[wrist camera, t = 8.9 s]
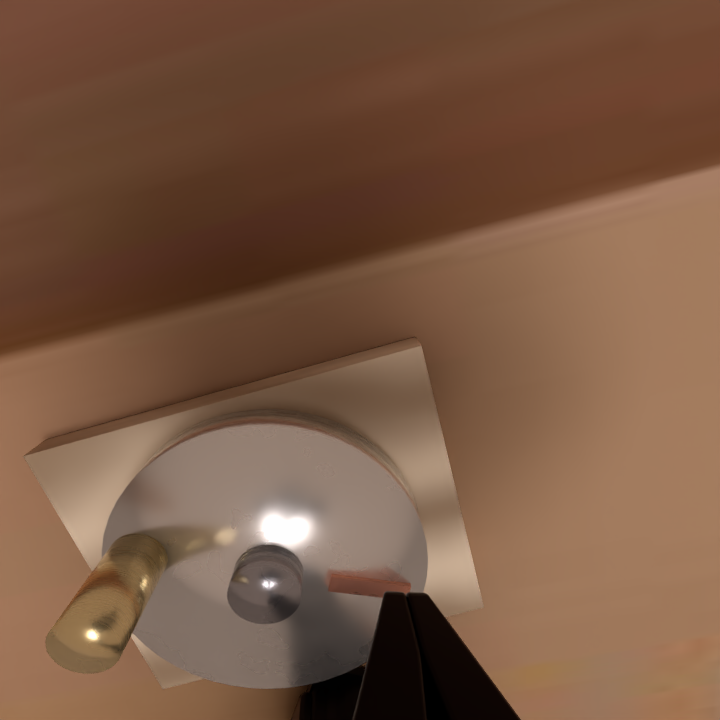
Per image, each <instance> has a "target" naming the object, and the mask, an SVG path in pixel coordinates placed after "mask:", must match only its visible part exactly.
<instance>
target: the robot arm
mask: <svg viewBox="0 0 720 720" xmlns="http://www.w3.org/2000/svg"><path fill="white" fill-rule="evenodd" d="M291 720H521V719H520V718H519V717H518V715H517V714H516V713H515V711H514V710H513V708H512V707H511V706H510V704H509V703H508V702H507V700H506V699H505V698H504V696H503V695H502V694H501V692H500V691H499V690H498V688H497V687H496V685H495V684H494V683H493V681H492V680H491V679H490V677H489V676H488V675H487V673H486V672H485V671H484V669H483V668H482V667H481V665H480V664H479V663H478V661H477V660H476V658H475V657H474V656H473V654H472V653H471V652H470V650H469V649H468V648H467V646H466V645H465V644H464V642H463V641H462V640H461V638H460V637H459V635H458V634H457V633H456V631H455V630H454V629H453V627H452V626H451V625H450V623H449V622H448V621H447V619H446V618H445V617H444V615H443V614H442V613H441V611H440V610H439V608H438V607H437V606H436V604H435V603H434V602H433V600H432V599H431V598H430V596H429V595H428V594H426V593H422V592H408V593H406V595H405V593H404V592H398V591H386V592H385V593H384V595H383V598H382V602H381V607H380V611H379V615H378V619H377V623H376V627H375V631H374V635H373V639H372V643H371V647H370V651H369V655H368V659H367V663H366V668H365V669H360V668H355V669H352V670H350V671H348V672H346V673H344V674H342V675H339V676H336V677H333V678H331V679H328V680H325V681H321V682H317V683H313V684H310V685H309V688H308V690H307V692H304V693H303V694H302V695H301V696H300V698H299V701H298V703H297V706H296V708H295V711H294V713H293V716H292V718H291Z"/></svg>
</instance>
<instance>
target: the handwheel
mask: <svg viewBox="0 0 720 720" xmlns="http://www.w3.org/2000/svg"><path fill="white" fill-rule="evenodd" d="M101 554H102V559H101V560H100V562H99V563H98V564H97V566H96V567H95V569H94V570H93V571H92V573H91V574H90V576H89V577H88V578H87V580H86V581H85V583H84V584H83V585H82V587H81V588H80V590H79V591H78V592H77V594H76V595H75V597H74V598H73V599H72V601H71V602H70V604H69V605H68V606H67V608H66V609H65V611H64V612H63V613H62V615H61V616H60V618H59V619H58V620H57V622H56V623H55V625H54V626H53V627H52V629H51V630H50V632H49V633H48V635H47V637H46V649H47V652H48V654H49V655H50V657H51V658H52V659H53V660H54V661H55V662H56V663H57V664H59V665H60V666H62V667H63V668H65V669H68V670H70V671H73V672H77V673H85V674H92V673H99V672H103V671H105V670H107V669H109V668H111V667H112V666H114V665H115V664H116V663H117V661H118V660H119V658H120V656H121V654H122V652H123V650H124V648H125V647H126V645H127V643H128V641H129V639H130V637H131V635H132V633H133V634H134V635H135V636H136V637H137V638H138V639H139V640H140V641H141V642H142V643H143V644H144V645H145V646H147V647H148V648H149V649H150V650H152V651H153V652H154V653H156V654H157V655H158V656H160V657H161V658H163V659H164V660H166V661H168V662H169V663H171V664H173V665H174V666H176V667H178V668H180V669H182V670H185V671H187V672H189V673H191V674H193V675H196V676H199V677H202V678H205V679H207V680H210V681H214V682H218V683H222V684H227V685H232V686H239V687H246V688H261V689H275V688H290V687H297V686H304V685H309V684H313V683H317V682H321V681H325V680H328V679H331V678H333V677H336V676H339V675H342V674H344V673H346V672H348V671H350V670H352V669H355V668H357V667H359V666H360V665H362V664H363V663H365V662H367V659H368V655H369V651H370V647H371V643H372V639H373V635H374V631H375V627H376V623H377V619H378V615H379V611H380V607H381V602H382V598H383V595H384V593H385V592H386V591H398V592H404V593H405V595H406V593H408V592H422V593H423V591H424V587H425V583H426V578H427V569H428V552H427V542H426V538H425V535H424V531H423V527H422V523H421V520H420V516H419V513H418V509H417V506H416V502H415V499H414V497H413V494H412V492H411V490H410V487H409V485H408V483H407V482H406V480H405V478H404V477H403V475H402V474H401V472H400V470H399V469H398V468H397V467H396V465H395V464H394V463H393V462H392V461H391V460H390V458H389V457H388V456H387V455H386V454H385V453H384V452H382V451H381V450H380V449H379V448H378V447H377V446H376V445H375V444H374V443H372V442H371V441H369V440H368V439H366V438H365V437H363V436H362V435H360V434H359V433H357V432H356V431H354V430H352V429H350V428H348V427H346V426H344V425H342V424H340V423H338V422H335V421H332V420H329V419H326V418H324V417H321V416H318V415H313V414H309V413H304V412H300V411H292V410H283V409H253V410H245V411H238V412H232V413H228V414H225V415H221V416H217V417H213V418H211V419H208V420H206V421H203V422H201V423H198V424H196V425H194V426H192V427H190V428H188V429H187V430H185V431H183V432H181V433H179V434H178V435H176V436H175V437H173V438H172V439H171V440H170V441H168V442H167V443H166V444H164V445H163V446H162V447H161V448H160V449H159V450H158V451H157V452H156V453H155V454H154V455H153V456H152V457H151V458H150V459H149V460H148V461H147V462H146V463H145V465H144V466H143V467H142V468H141V470H140V471H139V472H138V473H137V474H136V476H135V477H134V478H133V479H132V481H131V482H130V483H129V484H128V486H127V487H126V488H125V490H124V491H123V493H122V494H121V495H120V497H119V498H118V500H117V501H116V503H115V506H114V508H113V510H112V512H111V514H110V516H109V518H108V521H107V525H106V528H105V532H104V535H103V544H102V552H101Z"/></svg>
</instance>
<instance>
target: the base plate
mask: <svg viewBox="0 0 720 720" xmlns="http://www.w3.org/2000/svg"><path fill="white" fill-rule="evenodd" d="M253 409H283V410H292V411H300V412H304V413H309V414H313V415H318V416H321V417H324V418H326V419H329V420H332V421H335V422H338V423H340V424H342V425H344V426H346V427H348V428H350V429H352V430H354V431H356V432H357V433H359V434H360V435H362V436H363V437H365V438H366V439H368V440H369V441H371V442H372V443H374V444H375V445H376V446H377V447H378V448H379V449H380V450H381V451H382V452H384V453H385V454H386V455H387V456H388V457H389V458H390V460H391V461H392V462H393V463H394V464H395V465H396V467H397V468H398V469H399V470H400V472H401V474H402V475H403V477H404V478H405V480H406V482H407V483H408V485H409V487H410V490H411V492H412V494H413V497H414V499H415V502H416V506H417V509H418V513H419V516H420V520H421V523H422V527H423V531H424V535H425V538H426V542H427V552H428V569H427V578H426V583H425V587H424V591H423V593H426V594H428V595H429V596H430V598H431V599H432V600H433V602H434V603H435V604H436V606H437V607H438V608H439V610H440V611H441V613H442V614H443V615H444V617H449V616H453V615H456V614H460V613H464V612H468V611H472V610H476V609H480V608H484V605H483V601H482V597H481V593H480V589H479V584H478V580H477V576H476V572H475V568H474V564H473V559H472V555H471V551H470V547H469V543H468V538H467V534H466V530H465V526H464V522H463V517H462V513H461V509H460V505H459V501H458V496H457V492H456V488H455V484H454V480H453V475H452V471H451V467H450V463H449V459H448V454H447V450H446V446H445V442H444V438H443V434H442V429H441V425H440V421H439V417H438V413H437V408H436V404H435V400H434V396H433V392H432V387H431V383H430V379H429V375H428V371H427V366H426V362H425V358H424V354H423V350H422V346H421V344H420V343H419V341H418V340H417V339H416V337H413V338H409V339H406V340H402V341H399V342H395V343H392V344H388V345H384V346H381V347H377V348H374V349H370V350H366V351H363V352H359V353H356V354H352V355H348V356H345V357H341V358H338V359H334V360H330V361H327V362H323V363H320V364H316V365H313V366H309V367H305V368H302V369H298V370H295V371H291V372H287V373H284V374H280V375H277V376H273V377H269V378H266V379H262V380H259V381H255V382H251V383H248V384H244V385H241V386H237V387H234V388H230V389H226V390H223V391H219V392H216V393H212V394H208V395H205V396H201V397H198V398H194V399H190V400H187V401H183V402H180V403H176V404H172V405H169V406H165V407H162V408H158V409H155V410H151V411H147V412H144V413H140V414H137V415H133V416H129V417H126V418H122V419H119V420H115V421H111V422H108V423H104V424H101V425H97V426H94V427H90V428H86V429H83V430H79V431H76V432H72V433H68V434H65V435H61V436H58V437H54V438H50V439H47V440H45V441H43V442H42V443H41V444H39V445H38V446H37V447H35V448H34V449H32V450H31V451H30V452H28V453H27V454H26V455H24V456H23V457H24V458H25V460H26V462H27V463H28V465H29V467H30V468H31V470H32V472H33V473H34V475H35V477H36V478H37V480H38V482H39V484H40V485H41V487H42V489H43V490H44V492H45V494H46V495H47V497H48V499H49V500H50V502H51V504H52V505H53V507H54V509H55V510H56V512H57V514H58V515H59V517H60V519H61V520H62V522H63V524H64V525H65V527H66V529H67V530H68V532H69V534H70V535H71V537H72V539H73V540H74V542H75V544H76V545H77V547H78V549H79V550H80V552H81V554H82V555H83V557H84V559H85V560H86V562H87V564H88V565H89V567H90V569H91V570H92V571H93V570H94V569H95V567H96V566H97V564H98V563H99V562H100V560H101V559H102V554H101V552H102V544H103V535H104V532H105V528H106V525H107V521H108V518H109V516H110V514H111V512H112V510H113V508H114V506H115V503H116V501H117V500H118V498H119V497H120V495H121V494H122V493H123V491H124V490H125V488H126V487H127V486H128V484H129V483H130V482H131V481H132V479H133V478H134V477H135V476H136V474H137V473H138V472H139V471H140V470H141V468H142V467H143V466H144V465H145V463H146V462H147V461H148V460H149V459H150V458H151V457H152V456H153V455H154V454H155V453H156V452H157V451H158V450H159V449H160V448H161V447H162V446H163V445H164V444H166V443H167V442H168V441H170V440H171V439H172V438H173V437H175V436H176V435H178V434H179V433H181V432H183V431H185V430H187V429H188V428H190V427H192V426H194V425H196V424H198V423H201V422H203V421H206V420H208V419H211V418H213V417H217V416H221V415H225V414H228V413H232V412H238V411H245V410H253ZM131 637H132V639H133V640H134V642H135V644H136V645H137V647H138V649H139V651H140V652H141V654H142V656H143V657H144V659H145V661H146V662H147V664H148V666H149V667H150V669H151V671H152V672H153V674H154V676H155V677H156V679H157V681H158V682H159V684H160V686H161V687H162V689H166V688H170V687H173V686H177V685H181V684H185V683H189V682H193V681H197V680H201V679H205V678H202V677H199V676H196V675H193V674H191V673H189V672H187V671H185V670H182V669H180V668H178V667H176V666H174V665H173V664H171V663H169V662H168V661H166V660H164V659H163V658H161V657H160V656H158V655H157V654H156V653H154V652H153V651H152V650H150V649H149V648H148V647H147V646H145V645H144V644H143V643H142V642H141V641H140V640H139V639H138V638H137V637H136V636H135V635H134V634H133V633H132V635H131Z"/></svg>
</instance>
